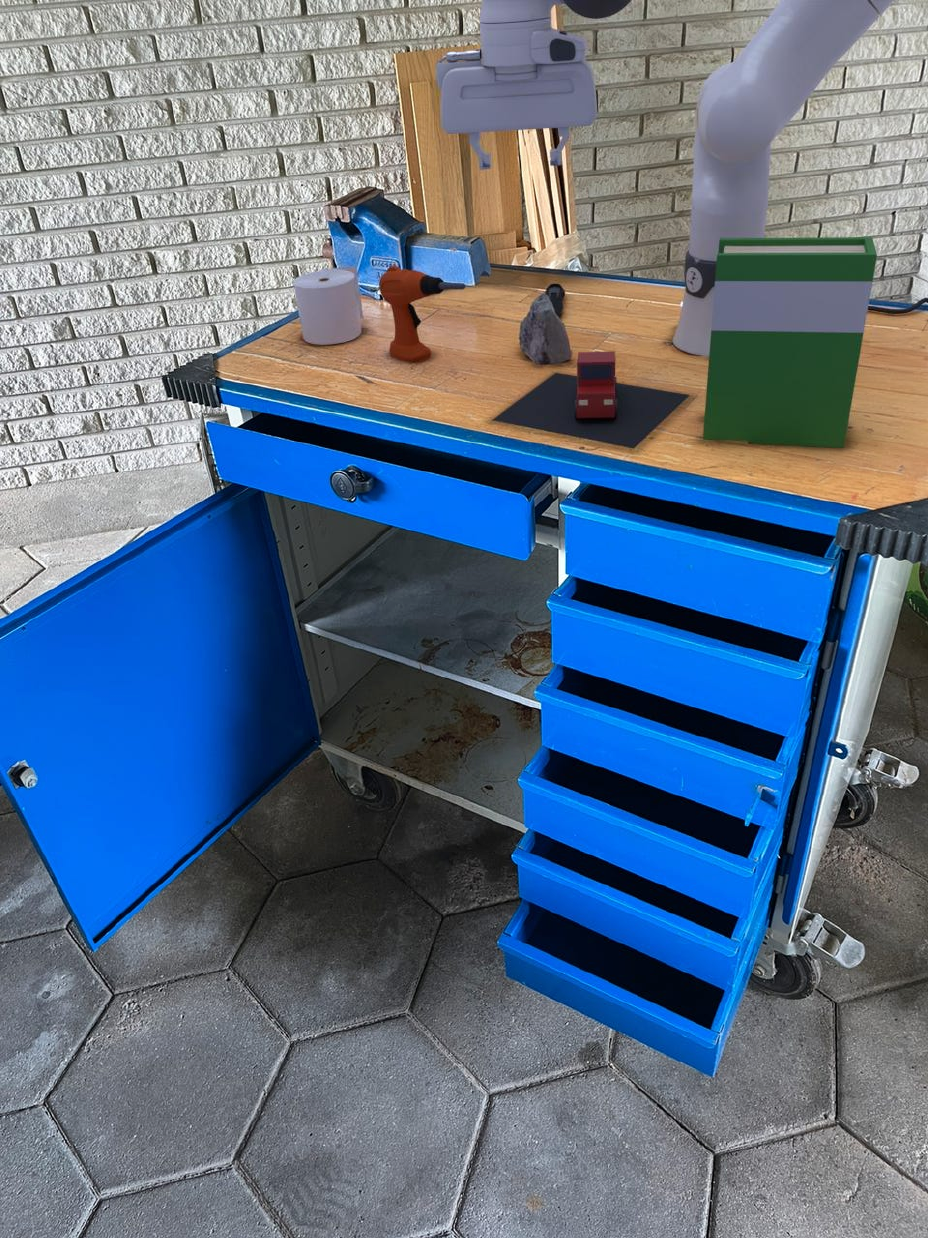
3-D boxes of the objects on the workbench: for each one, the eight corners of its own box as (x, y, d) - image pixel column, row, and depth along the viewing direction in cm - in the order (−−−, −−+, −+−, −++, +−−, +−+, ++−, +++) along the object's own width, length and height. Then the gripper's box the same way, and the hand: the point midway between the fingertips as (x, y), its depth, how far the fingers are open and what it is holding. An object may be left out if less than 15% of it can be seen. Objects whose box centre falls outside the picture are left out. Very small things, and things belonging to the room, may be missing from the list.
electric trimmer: (540, 326, 168) (539, 308, 166) (545, 297, 181) (545, 279, 179) (561, 326, 168) (561, 308, 166) (565, 296, 180) (565, 279, 178)
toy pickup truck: (576, 388, 144) (576, 336, 139) (616, 387, 143) (617, 334, 138) (574, 425, 133) (574, 369, 129) (616, 424, 133) (618, 368, 128)
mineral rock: (526, 336, 164) (523, 276, 158) (587, 339, 161) (587, 278, 155) (502, 364, 155) (499, 302, 149) (567, 368, 151) (567, 304, 145)
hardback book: (702, 441, 127) (717, 255, 113) (705, 418, 133) (719, 238, 119) (843, 447, 123) (877, 254, 109) (840, 423, 129) (871, 236, 115)
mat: (555, 374, 150) (555, 372, 149) (689, 397, 139) (689, 394, 139) (491, 422, 137) (491, 419, 137) (633, 450, 127) (633, 448, 126)
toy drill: (466, 369, 150) (450, 270, 143) (385, 360, 162) (365, 269, 155) (486, 359, 153) (471, 262, 145) (405, 351, 165) (387, 261, 158)
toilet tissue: (297, 347, 168) (287, 289, 163) (310, 323, 178) (301, 268, 172) (357, 344, 167) (349, 285, 162) (367, 320, 177) (359, 265, 171)
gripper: (430, 55, 119) (440, 175, 127) (597, 43, 116) (596, 167, 124) (437, 49, 124) (446, 165, 132) (597, 38, 121) (596, 157, 129)
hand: (520, 166), depth 128 cm, fingers open, 8 cm apart
